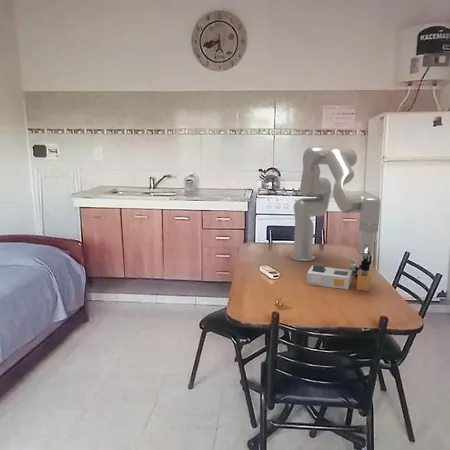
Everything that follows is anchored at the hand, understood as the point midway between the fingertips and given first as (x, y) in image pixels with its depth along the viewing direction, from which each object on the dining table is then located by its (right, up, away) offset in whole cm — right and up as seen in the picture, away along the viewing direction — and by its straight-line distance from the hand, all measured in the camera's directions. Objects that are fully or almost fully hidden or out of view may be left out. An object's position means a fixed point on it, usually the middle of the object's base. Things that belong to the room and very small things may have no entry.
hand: (365, 267), depth 181 cm
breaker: (-18, -4, +10) cm, 21 cm away
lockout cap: (0, -9, +2) cm, 9 cm away
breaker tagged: (-9, -7, +7) cm, 13 cm away
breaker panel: (-13, -8, +9) cm, 18 cm away
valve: (+2, -6, +20) cm, 21 cm away
